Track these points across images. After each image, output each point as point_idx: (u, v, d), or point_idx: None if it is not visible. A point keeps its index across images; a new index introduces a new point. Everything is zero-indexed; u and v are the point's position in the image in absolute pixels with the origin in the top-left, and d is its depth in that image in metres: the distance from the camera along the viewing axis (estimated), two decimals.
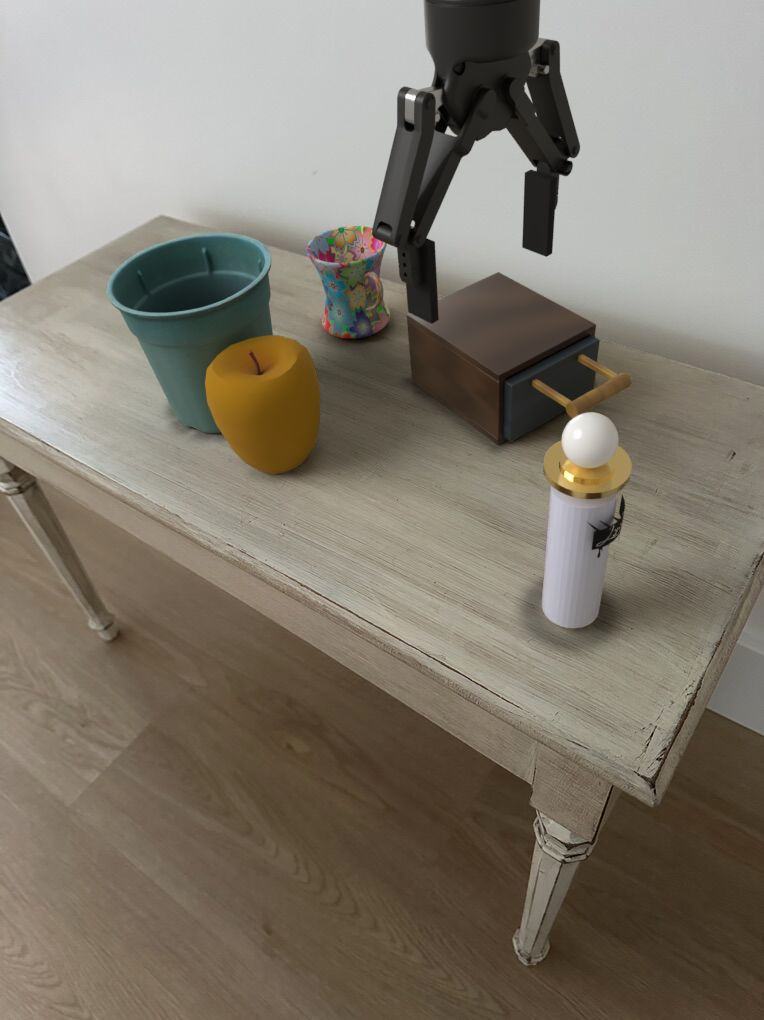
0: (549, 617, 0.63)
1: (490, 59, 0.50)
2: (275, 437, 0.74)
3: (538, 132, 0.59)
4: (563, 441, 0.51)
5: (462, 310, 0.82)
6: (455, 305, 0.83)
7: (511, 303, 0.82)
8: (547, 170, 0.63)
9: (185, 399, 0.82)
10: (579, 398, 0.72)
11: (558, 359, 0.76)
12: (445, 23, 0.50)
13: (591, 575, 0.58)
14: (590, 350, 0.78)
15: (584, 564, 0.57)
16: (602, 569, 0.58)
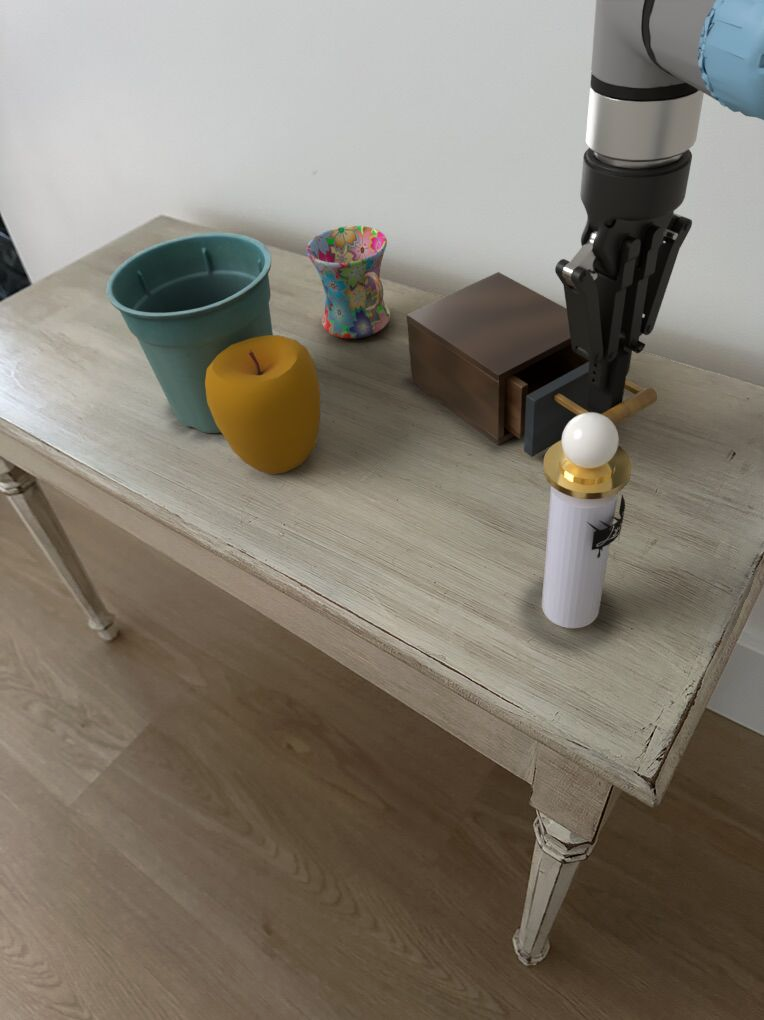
0: (549, 617, 0.63)
1: (640, 219, 0.57)
2: (275, 437, 0.74)
3: (641, 296, 0.65)
4: (563, 441, 0.51)
5: (462, 310, 0.82)
6: (455, 305, 0.83)
7: (511, 303, 0.82)
8: (621, 341, 0.68)
9: (185, 399, 0.82)
10: (604, 414, 0.70)
11: (581, 373, 0.74)
12: (602, 187, 0.56)
13: (591, 575, 0.58)
14: None
15: (584, 564, 0.57)
16: (602, 569, 0.58)
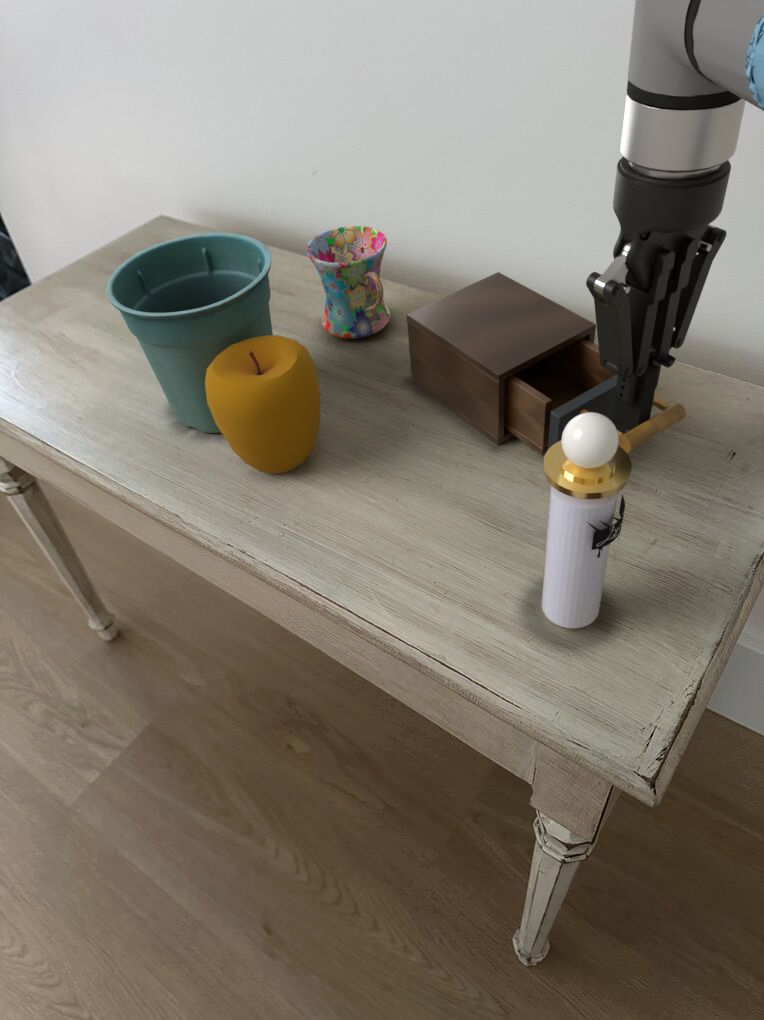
0: (549, 617, 0.63)
1: (677, 231, 0.54)
2: (275, 437, 0.74)
3: (672, 309, 0.63)
4: (563, 441, 0.51)
5: (462, 310, 0.82)
6: (455, 305, 0.83)
7: (511, 303, 0.82)
8: (650, 355, 0.66)
9: (185, 399, 0.82)
10: (632, 431, 0.68)
11: (607, 388, 0.72)
12: (637, 198, 0.54)
13: (591, 575, 0.58)
14: None
15: (584, 564, 0.57)
16: (602, 569, 0.58)
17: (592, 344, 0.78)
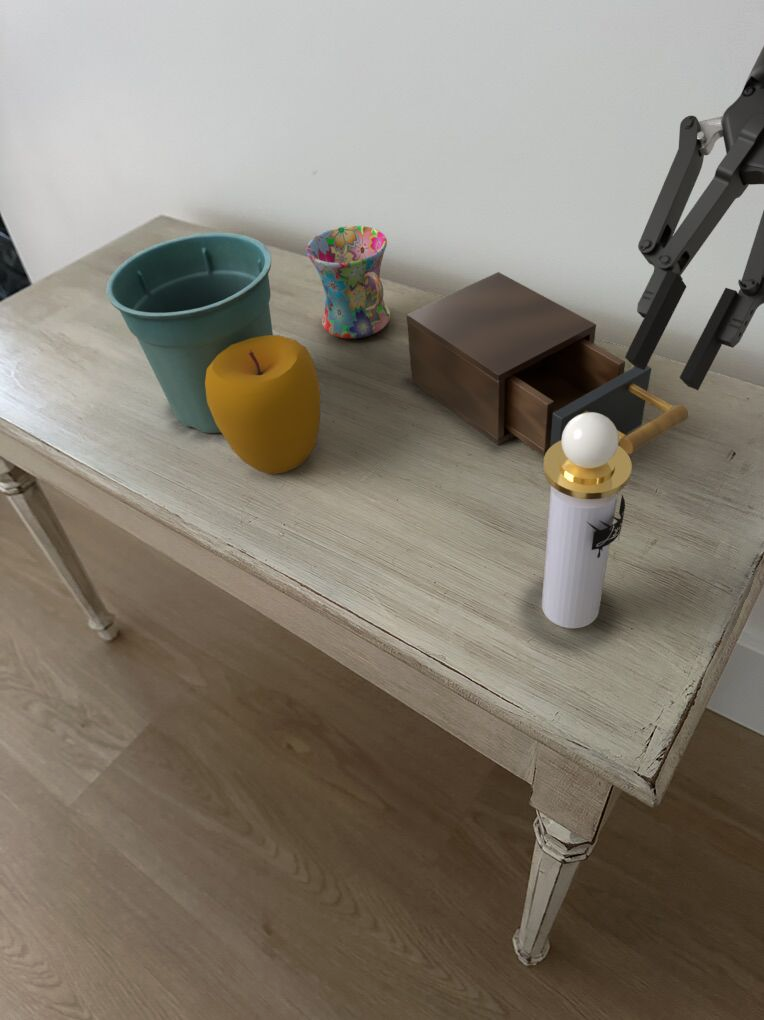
0: (549, 617, 0.63)
1: (762, 69, 0.51)
2: (275, 437, 0.74)
3: None
4: (563, 441, 0.51)
5: (462, 310, 0.82)
6: (455, 305, 0.83)
7: (511, 303, 0.82)
8: None
9: (185, 399, 0.82)
10: (634, 433, 0.68)
11: (609, 389, 0.72)
12: None
13: (591, 575, 0.58)
14: (642, 379, 0.74)
15: (584, 564, 0.57)
16: (602, 569, 0.58)
17: (594, 345, 0.77)
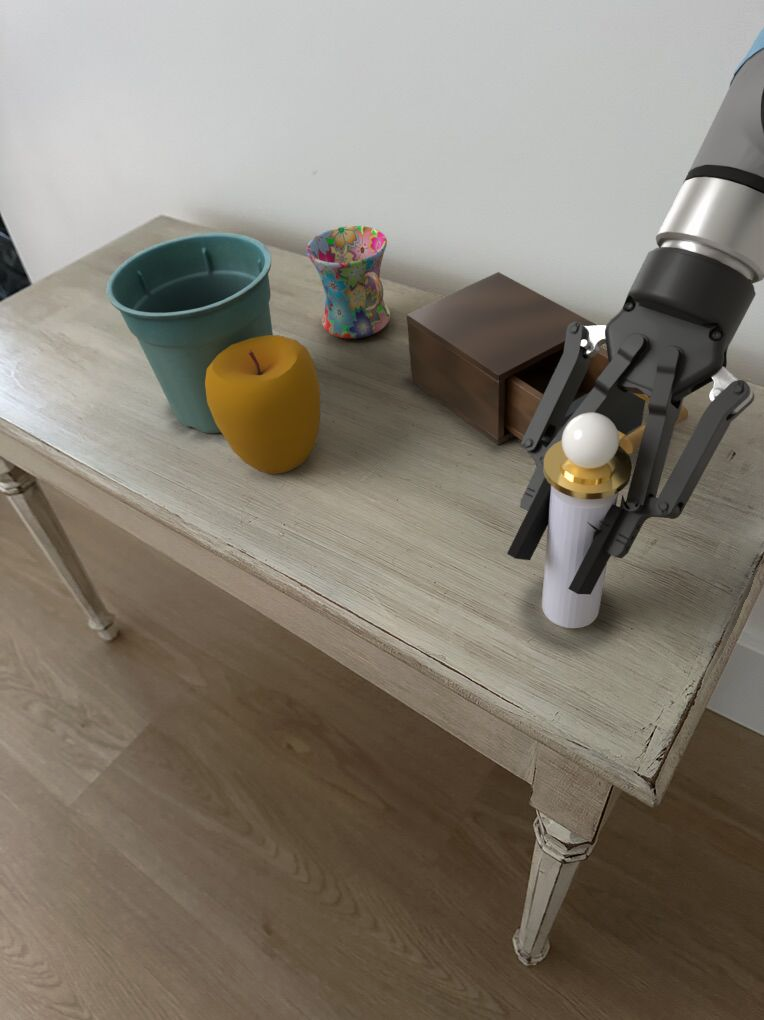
0: (549, 617, 0.63)
1: (637, 294, 0.52)
2: (275, 437, 0.74)
3: (651, 438, 0.53)
4: (563, 441, 0.51)
5: (462, 310, 0.82)
6: (455, 305, 0.83)
7: (511, 303, 0.82)
8: None
9: (185, 399, 0.82)
10: (634, 433, 0.68)
11: None
12: None
13: None
14: None
15: None
16: None
17: None
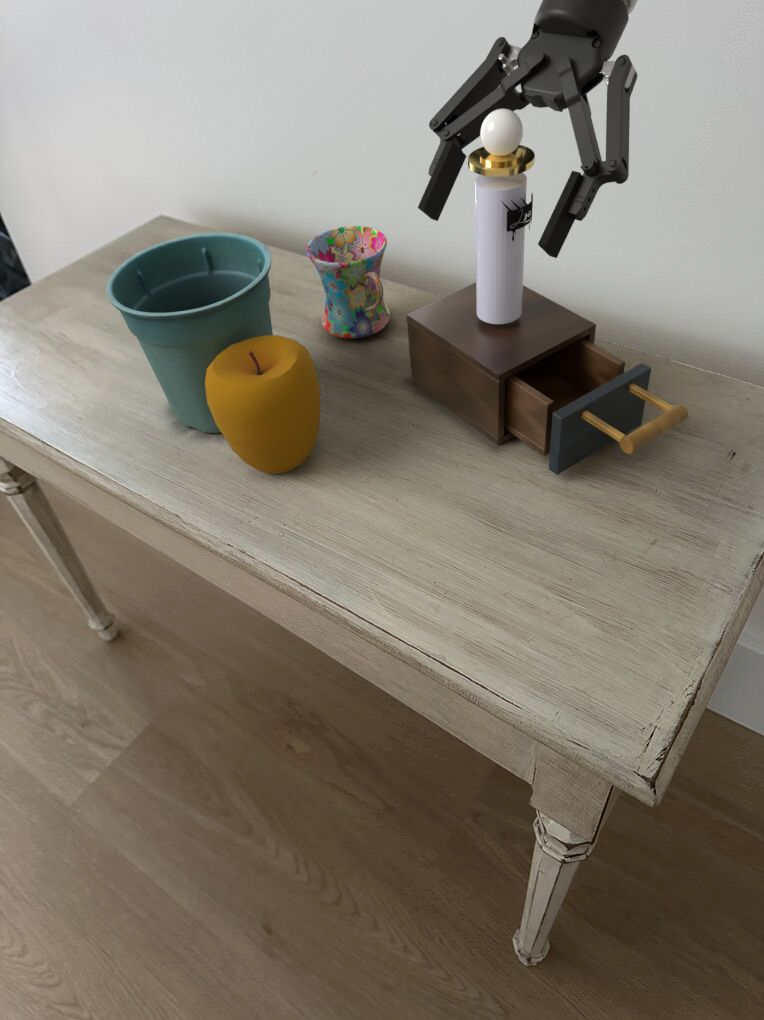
0: (481, 317, 0.79)
1: (538, 16, 0.68)
2: (274, 437, 0.74)
3: (579, 120, 0.67)
4: (481, 132, 0.67)
5: (462, 310, 0.82)
6: (455, 305, 0.83)
7: None
8: None
9: (185, 399, 0.82)
10: (634, 433, 0.68)
11: (609, 389, 0.72)
12: None
13: (510, 265, 0.74)
14: (642, 379, 0.74)
15: (503, 251, 0.73)
16: (519, 261, 0.74)
17: (594, 345, 0.77)
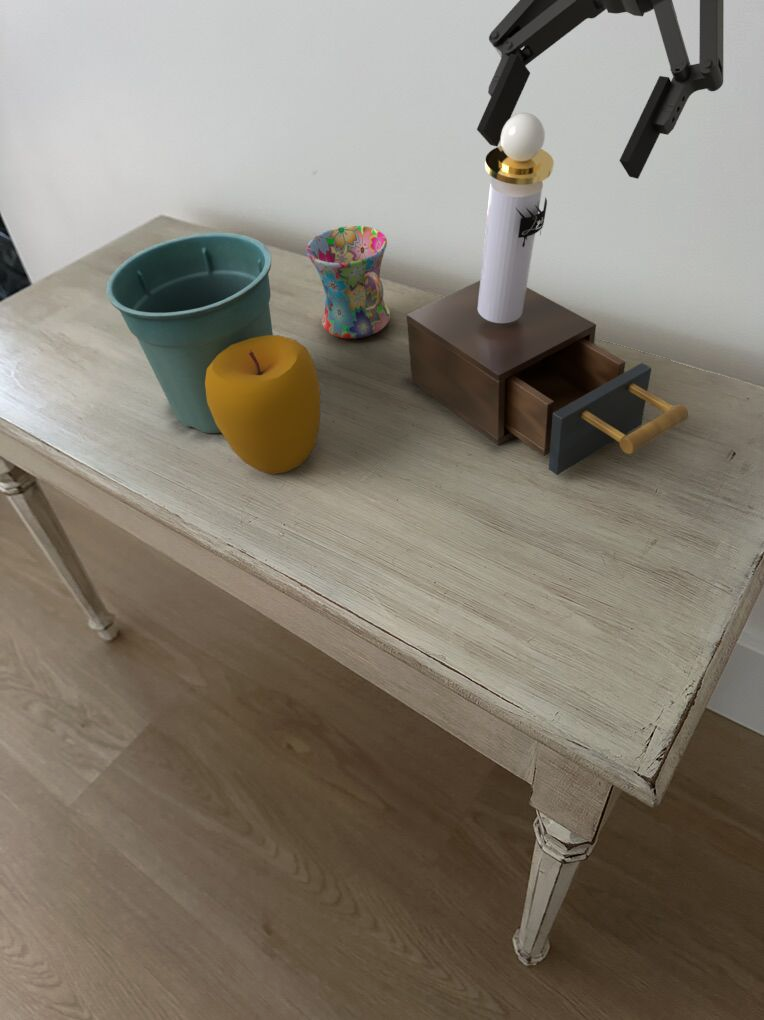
0: (482, 315, 0.78)
1: None
2: (274, 437, 0.74)
3: (666, 19, 0.59)
4: (502, 135, 0.65)
5: (462, 310, 0.82)
6: (455, 305, 0.83)
7: None
8: None
9: (185, 399, 0.82)
10: (634, 433, 0.68)
11: (609, 389, 0.72)
12: None
13: (517, 268, 0.73)
14: (642, 379, 0.74)
15: (512, 255, 0.72)
16: (526, 265, 0.74)
17: (594, 345, 0.77)
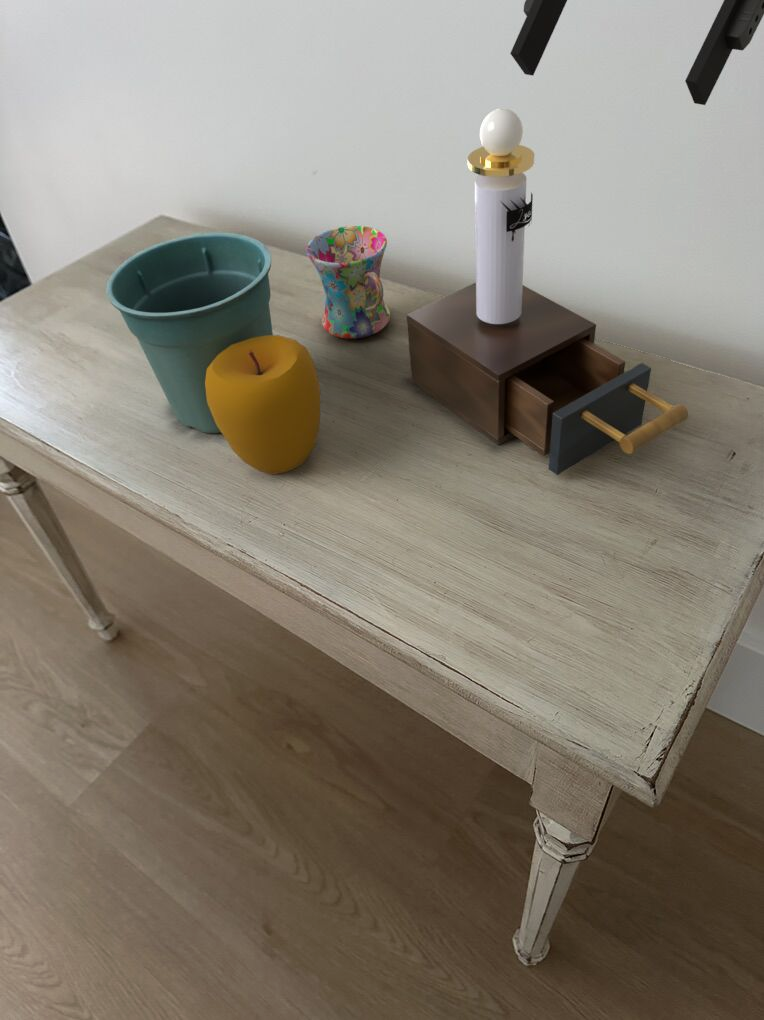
0: (481, 317, 0.79)
1: None
2: (274, 437, 0.74)
3: None
4: (480, 132, 0.67)
5: (462, 310, 0.82)
6: (455, 305, 0.83)
7: None
8: None
9: (185, 399, 0.82)
10: (634, 433, 0.68)
11: (609, 389, 0.72)
12: None
13: (509, 265, 0.74)
14: (642, 379, 0.74)
15: (502, 251, 0.73)
16: (518, 261, 0.74)
17: (594, 345, 0.77)
